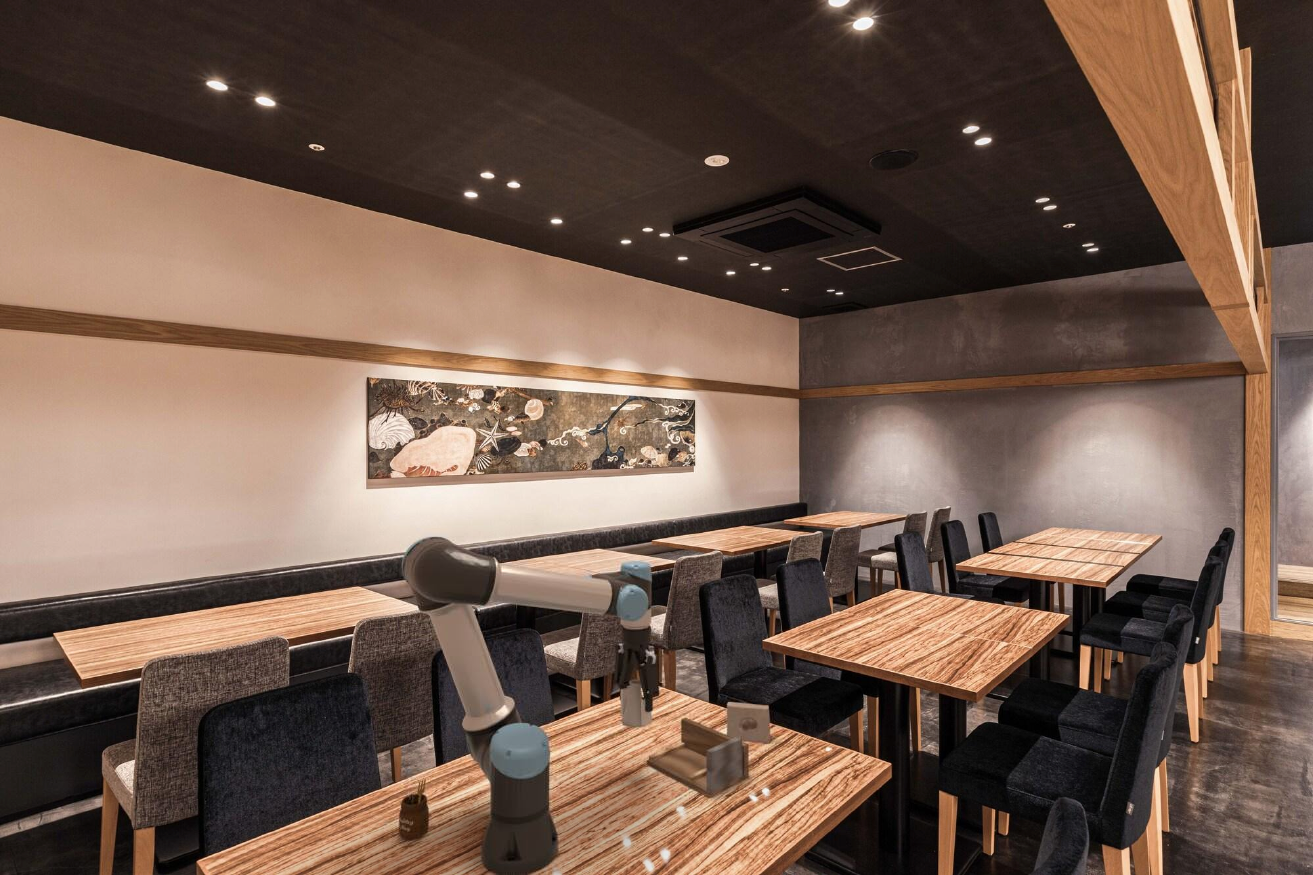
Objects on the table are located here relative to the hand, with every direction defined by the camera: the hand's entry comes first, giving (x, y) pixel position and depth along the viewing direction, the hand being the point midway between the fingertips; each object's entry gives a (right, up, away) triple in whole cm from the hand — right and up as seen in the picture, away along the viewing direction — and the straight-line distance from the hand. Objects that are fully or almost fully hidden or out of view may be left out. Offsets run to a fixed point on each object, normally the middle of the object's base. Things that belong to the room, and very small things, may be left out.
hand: (635, 719), depth 160 cm
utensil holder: (-46, -15, -22) cm, 53 cm away
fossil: (+31, -15, +22) cm, 41 cm away
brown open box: (+15, -15, +4) cm, 22 cm away
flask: (0, -1, 0) cm, 1 cm away
